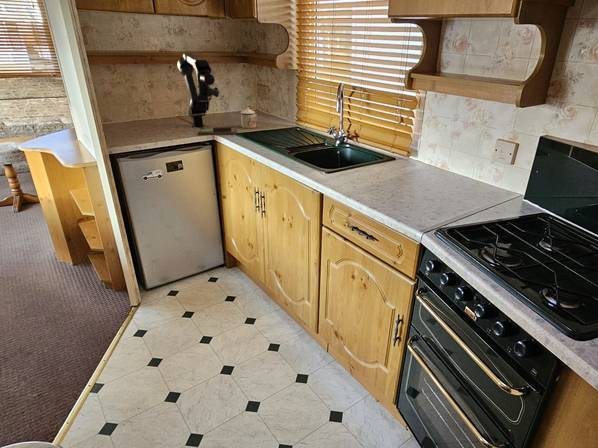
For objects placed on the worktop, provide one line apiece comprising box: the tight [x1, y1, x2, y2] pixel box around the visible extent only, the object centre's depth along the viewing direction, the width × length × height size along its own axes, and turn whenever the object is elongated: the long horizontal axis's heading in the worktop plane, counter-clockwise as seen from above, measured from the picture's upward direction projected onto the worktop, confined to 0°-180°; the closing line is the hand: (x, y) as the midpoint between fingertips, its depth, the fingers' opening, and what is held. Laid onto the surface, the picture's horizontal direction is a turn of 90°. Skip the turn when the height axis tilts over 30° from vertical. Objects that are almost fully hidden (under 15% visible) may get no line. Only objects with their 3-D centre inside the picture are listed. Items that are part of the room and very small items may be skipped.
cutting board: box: [197, 128, 237, 136], centre depth 233 cm, size 9×20×2 cm, turn 98°
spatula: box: [199, 126, 232, 132], centre depth 231 cm, size 17×6×2 cm, turn 98°
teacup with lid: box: [240, 107, 258, 129], centre depth 248 cm, size 12×9×12 cm
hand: (206, 111), depth 234 cm, fingers open, 9 cm apart
